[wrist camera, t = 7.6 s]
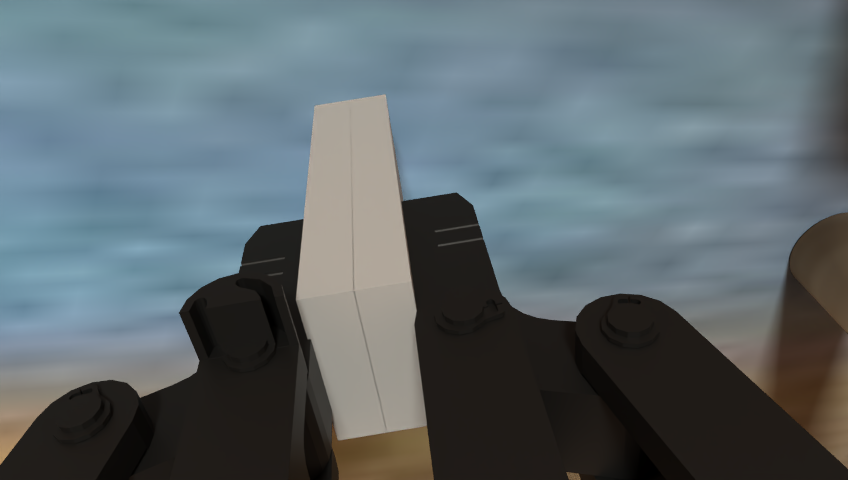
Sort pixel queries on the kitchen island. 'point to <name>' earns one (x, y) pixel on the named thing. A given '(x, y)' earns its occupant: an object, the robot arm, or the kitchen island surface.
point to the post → (825, 265)
